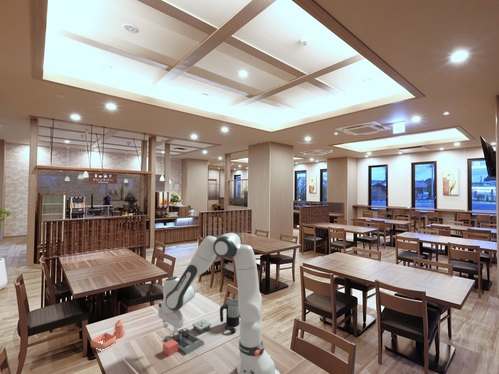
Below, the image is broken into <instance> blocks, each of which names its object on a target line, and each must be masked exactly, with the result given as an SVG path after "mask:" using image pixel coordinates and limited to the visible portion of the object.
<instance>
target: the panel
mask: <svg viewBox="0 0 499 374" xmlns="http://www.w3.org/2000/svg"><path fill="white" fill-rule="evenodd" d="M182 329H183V328H180V329H179V330H177V332H178V333H179V334H180V339H179V340H177V341H176V342H177V343H178V351H179V352H181V353H183V354H184V355H188V354H189V353H191V352H193V351H195V350H197V349H198V348H200V347H202V346H204V345H205V341H204V340H202V339H200V338H198V337H197V336H195V335H193V334H192V333H190V332H189V334H188V335H187V336H183V335H182ZM163 339H164V341H165V342H167V341H169V340H171V339H173V333H170V334H169V335H166V336H165V337H164V338H163ZM174 341H175V340H174Z"/></svg>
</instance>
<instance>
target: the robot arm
mask: <svg viewBox="0 0 499 374" xmlns="http://www.w3.org/2000/svg"><path fill="white" fill-rule="evenodd" d="M242 242H243V239H242V236H241V235H240V234H239V233H238V232H235V231H230V232H227V233H224V234H222V235H221V236H219V237H215V236H213V235H207V236H206V237H205V238H204V239H203V240H202V241H201V243H200V244H199V246H198V247H197V249H196V251H195V252H194V255H193V257H192V258H191V260H190V262H189V263H188V265H187V267H186V269H185V271H184V272H183V274H182V275H181V276H180V278H179V277H178V276H170V277H167V278H166V279H165V280H164V282H163V288H162V291H163V292H162V295H163V299H162V301H159V302H158V303H157V306H158V307H157V309H158V310H157V312H158V314H157V315H158V318H159V319H161V320H162V321H161V322H162V325H163V328H164V329H167V328H168V327H169V325H170V326H172V327H173V330H172V334H177V331H179V330H180V329H182V328H183V326H184V316H183V313H182V312H181V310H180V309H182V308H183V307H184V306H185V305H186V304H187V303H189V302H190V301H191V300H193V298H194V297H195V295H196V290H195V287H194V286H193V284H192V283H193V282H194V281H195V280H196V279H198V277H199V276H201V275H202V274H204V273H205V272H206V271H208V269H210V268H211V266H212V264H213V263H214V261H215V259H216V258H217V256H218V257H220V258H225V259H230V260H231V259H234V264H235V273H236V274H235V275H236V280H237V282H236V283H237V299H238V302H239V318H240V321H239V323H240V324H239V342H238V349H239V353H238V354H239V355H238V361H237V366H236V373H237V374H281V373H280V371H279V370H278V369H276V366H275V362H274V360H273V359H272V356H270V354H268V353H267V351H266V350H265V348H266V344H263V340H262V319H263V318H262V317H263V316H262V314H263V313H262V312H263V309H262V307H263V297H262V293H261V292H260V284H259V283H260V279H259V273H258V267H257V265H258V264H257V259H256V255H255V252H254V250H253V247H252V246H250V245H249V244H243V243H242ZM178 329H179V330H178Z"/></svg>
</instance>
